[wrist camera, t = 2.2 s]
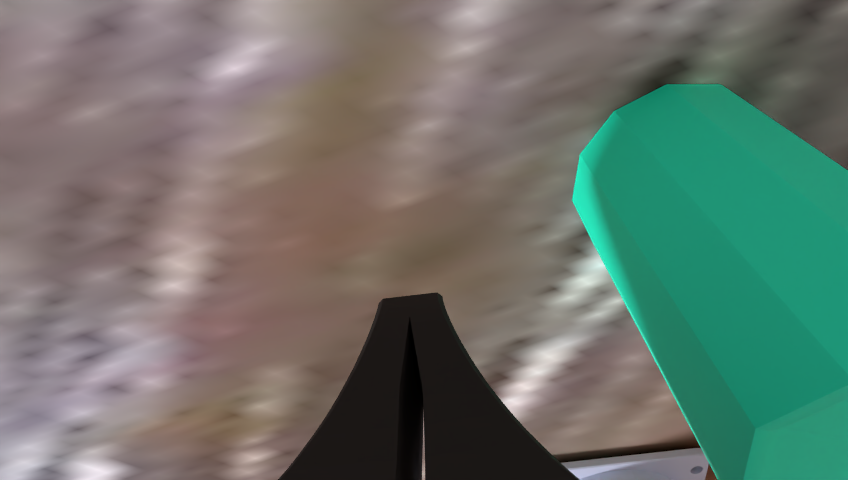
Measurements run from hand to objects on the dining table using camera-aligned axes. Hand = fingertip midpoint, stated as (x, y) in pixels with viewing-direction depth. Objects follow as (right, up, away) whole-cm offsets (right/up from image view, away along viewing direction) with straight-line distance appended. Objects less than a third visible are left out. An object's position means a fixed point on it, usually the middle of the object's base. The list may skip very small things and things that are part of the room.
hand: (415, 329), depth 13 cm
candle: (+8, +4, +5) cm, 10 cm away
